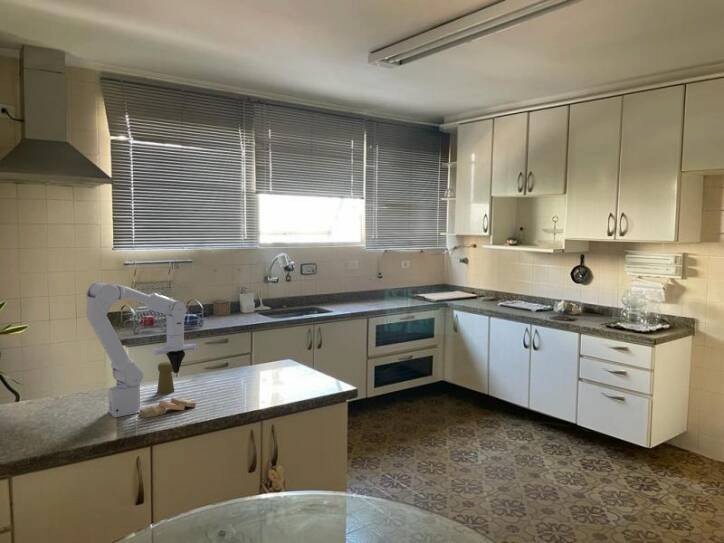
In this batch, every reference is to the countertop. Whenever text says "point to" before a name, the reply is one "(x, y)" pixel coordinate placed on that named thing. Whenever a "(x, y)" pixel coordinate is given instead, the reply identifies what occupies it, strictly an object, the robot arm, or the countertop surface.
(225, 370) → the countertop surface
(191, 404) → the end domino
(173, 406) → the domino
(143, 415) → the domino
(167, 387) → the cork
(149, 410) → the middle domino
